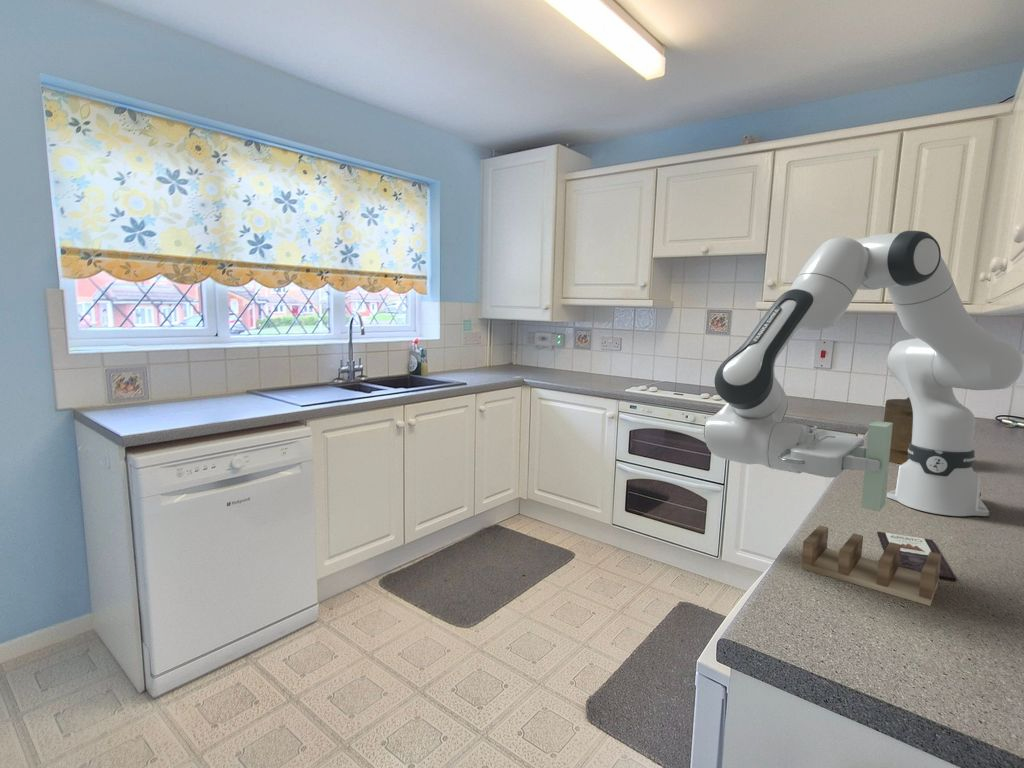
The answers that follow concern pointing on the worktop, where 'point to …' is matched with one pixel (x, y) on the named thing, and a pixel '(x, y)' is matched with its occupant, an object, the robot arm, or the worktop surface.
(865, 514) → the worktop surface
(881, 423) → the tall mint green block
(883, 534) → the chocolate bar
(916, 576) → the rack
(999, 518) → the worktop surface
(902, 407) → the wooden container
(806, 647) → the worktop surface
